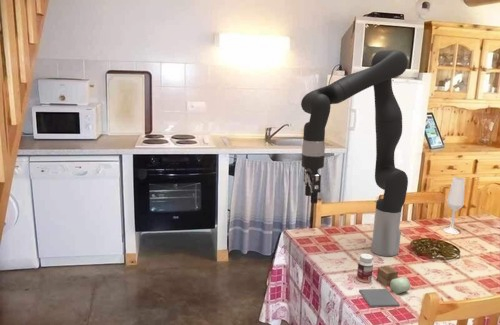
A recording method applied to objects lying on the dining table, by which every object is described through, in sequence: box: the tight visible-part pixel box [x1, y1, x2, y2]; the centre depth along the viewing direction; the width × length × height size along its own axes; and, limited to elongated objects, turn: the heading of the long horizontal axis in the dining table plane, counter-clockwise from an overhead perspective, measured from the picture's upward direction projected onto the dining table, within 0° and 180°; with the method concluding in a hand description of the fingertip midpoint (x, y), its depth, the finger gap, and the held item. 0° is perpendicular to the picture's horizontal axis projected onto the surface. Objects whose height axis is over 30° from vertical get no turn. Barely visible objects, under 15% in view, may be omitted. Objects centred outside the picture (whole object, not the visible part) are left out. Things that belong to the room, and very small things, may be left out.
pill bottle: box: [356, 253, 374, 283], centre depth 140 cm, size 5×5×8 cm
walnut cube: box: [376, 265, 399, 287], centre depth 139 cm, size 4×4×4 cm
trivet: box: [358, 288, 400, 308], centre depth 129 cm, size 9×9×1 cm
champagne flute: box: [442, 176, 466, 235], centre depth 184 cm, size 7×7×24 cm
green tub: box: [390, 276, 411, 294], centre depth 133 cm, size 4×4×4 cm
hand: (310, 199), depth 145 cm, fingers open, 8 cm apart
